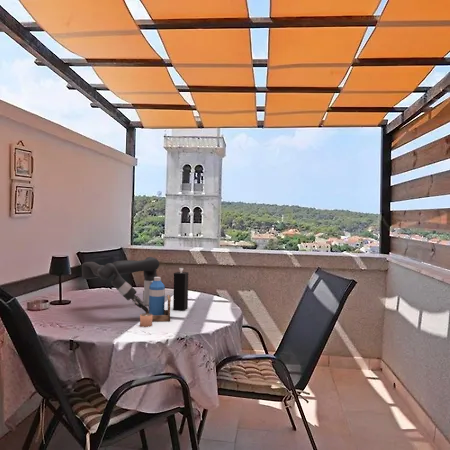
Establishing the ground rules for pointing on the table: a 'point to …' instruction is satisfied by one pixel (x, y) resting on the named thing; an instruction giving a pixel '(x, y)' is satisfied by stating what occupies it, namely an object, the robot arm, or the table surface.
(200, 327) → the table surface
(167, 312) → the brown wooden frame
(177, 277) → the black square pillar
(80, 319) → the table surface
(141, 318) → the clay pot
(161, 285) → the water bottle
